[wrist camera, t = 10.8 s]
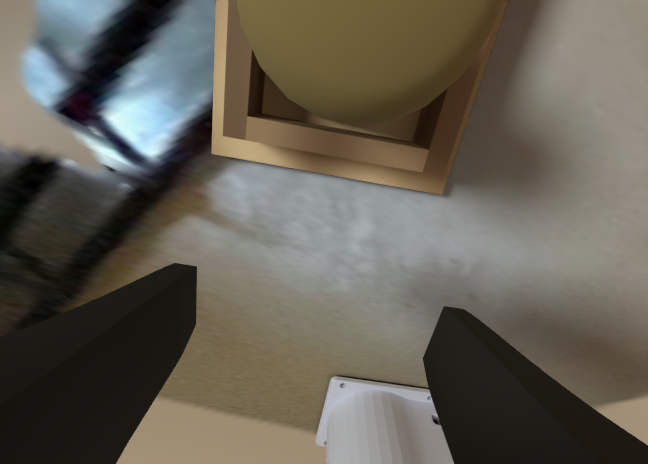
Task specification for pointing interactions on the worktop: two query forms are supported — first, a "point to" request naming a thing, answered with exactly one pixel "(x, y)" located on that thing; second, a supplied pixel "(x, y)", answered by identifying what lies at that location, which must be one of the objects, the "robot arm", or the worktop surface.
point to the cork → (366, 51)
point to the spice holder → (330, 136)
